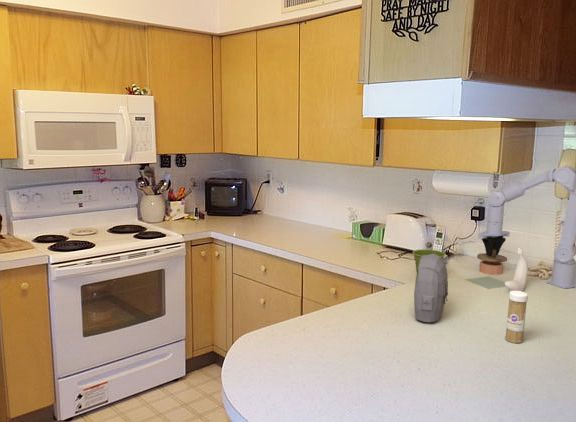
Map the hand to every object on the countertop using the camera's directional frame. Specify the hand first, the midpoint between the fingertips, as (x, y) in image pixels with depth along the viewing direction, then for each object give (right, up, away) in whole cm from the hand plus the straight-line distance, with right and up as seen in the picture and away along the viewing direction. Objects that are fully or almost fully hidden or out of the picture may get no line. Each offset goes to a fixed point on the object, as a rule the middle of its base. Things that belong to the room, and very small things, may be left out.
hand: (492, 255), depth 204 cm
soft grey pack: (-39, -15, -51) cm, 65 cm away
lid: (0, -1, 0) cm, 2 cm away
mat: (-7, -9, -14) cm, 18 cm away
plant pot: (-30, -9, -14) cm, 34 cm away
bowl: (0, -7, +1) cm, 7 cm away
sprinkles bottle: (-20, -18, -65) cm, 71 cm away
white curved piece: (-1, -11, -23) cm, 25 cm away
